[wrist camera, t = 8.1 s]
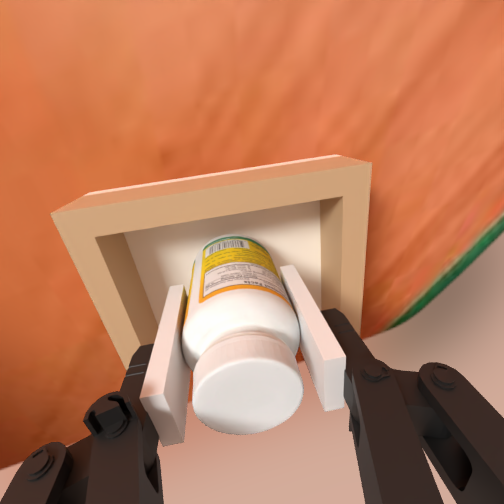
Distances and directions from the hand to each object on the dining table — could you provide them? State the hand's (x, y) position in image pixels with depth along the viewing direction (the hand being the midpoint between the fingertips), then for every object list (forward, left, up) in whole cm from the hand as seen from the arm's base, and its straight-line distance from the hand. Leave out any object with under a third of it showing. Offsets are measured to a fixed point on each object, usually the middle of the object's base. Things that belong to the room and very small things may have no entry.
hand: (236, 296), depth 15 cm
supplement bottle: (0, 0, -3) cm, 3 cm away
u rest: (0, 0, -5) cm, 5 cm away
